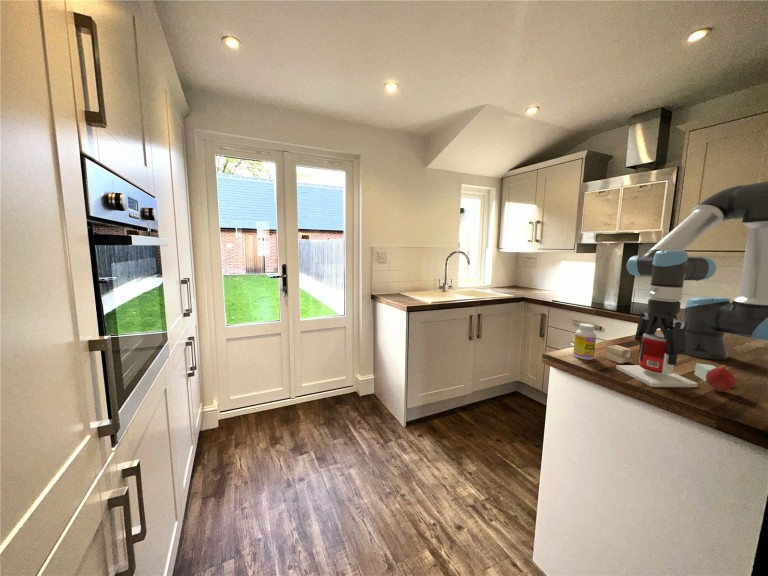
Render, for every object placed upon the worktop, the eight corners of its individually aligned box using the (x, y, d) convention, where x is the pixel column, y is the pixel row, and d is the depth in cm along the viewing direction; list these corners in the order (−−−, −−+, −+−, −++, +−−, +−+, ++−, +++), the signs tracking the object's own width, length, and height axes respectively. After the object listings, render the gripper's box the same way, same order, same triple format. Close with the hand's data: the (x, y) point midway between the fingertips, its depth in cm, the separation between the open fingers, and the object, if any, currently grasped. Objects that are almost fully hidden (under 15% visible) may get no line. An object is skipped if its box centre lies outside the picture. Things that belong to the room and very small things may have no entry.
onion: (698, 386, 91) (702, 361, 90) (715, 386, 91) (719, 361, 90) (721, 396, 85) (726, 369, 84) (739, 395, 86) (744, 369, 84)
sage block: (710, 376, 99) (712, 365, 98) (722, 384, 93) (724, 372, 93) (694, 374, 100) (696, 363, 100) (705, 381, 95) (707, 370, 94)
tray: (655, 368, 104) (655, 365, 104) (697, 387, 91) (697, 382, 90) (615, 368, 104) (616, 364, 104) (651, 386, 90) (652, 382, 90)
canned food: (678, 374, 93) (683, 340, 91) (648, 372, 94) (652, 338, 93) (660, 365, 100) (665, 333, 98) (633, 363, 102) (637, 332, 100)
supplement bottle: (583, 360, 111) (586, 327, 110) (569, 354, 118) (572, 323, 116) (598, 359, 113) (601, 326, 111) (583, 353, 119) (586, 322, 117)
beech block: (615, 357, 115) (617, 345, 115) (629, 362, 111) (630, 349, 110) (605, 358, 114) (607, 346, 113) (619, 363, 109) (620, 350, 109)
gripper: (626, 294, 104) (618, 356, 107) (685, 305, 84) (674, 382, 87) (647, 294, 104) (639, 356, 107) (711, 305, 84) (699, 382, 87)
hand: (655, 368), depth 97 cm, fingers closed on canned food, 8 cm apart
